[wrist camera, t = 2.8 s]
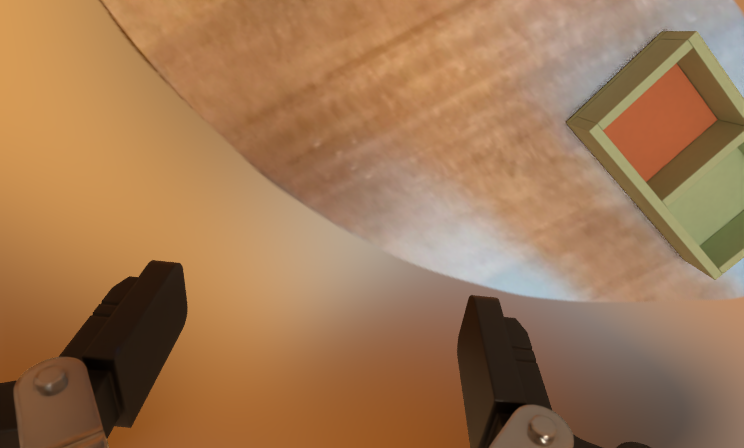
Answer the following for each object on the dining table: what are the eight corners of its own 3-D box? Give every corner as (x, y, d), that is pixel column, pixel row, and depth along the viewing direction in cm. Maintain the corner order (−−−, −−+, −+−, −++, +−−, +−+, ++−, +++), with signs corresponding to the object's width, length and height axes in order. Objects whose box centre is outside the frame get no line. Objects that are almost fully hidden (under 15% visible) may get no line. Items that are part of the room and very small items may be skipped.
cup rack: (684, 260, 41) (715, 280, 38) (565, 122, 36) (588, 131, 33) (774, 187, 39) (815, 201, 36) (662, 30, 34) (697, 30, 31)
